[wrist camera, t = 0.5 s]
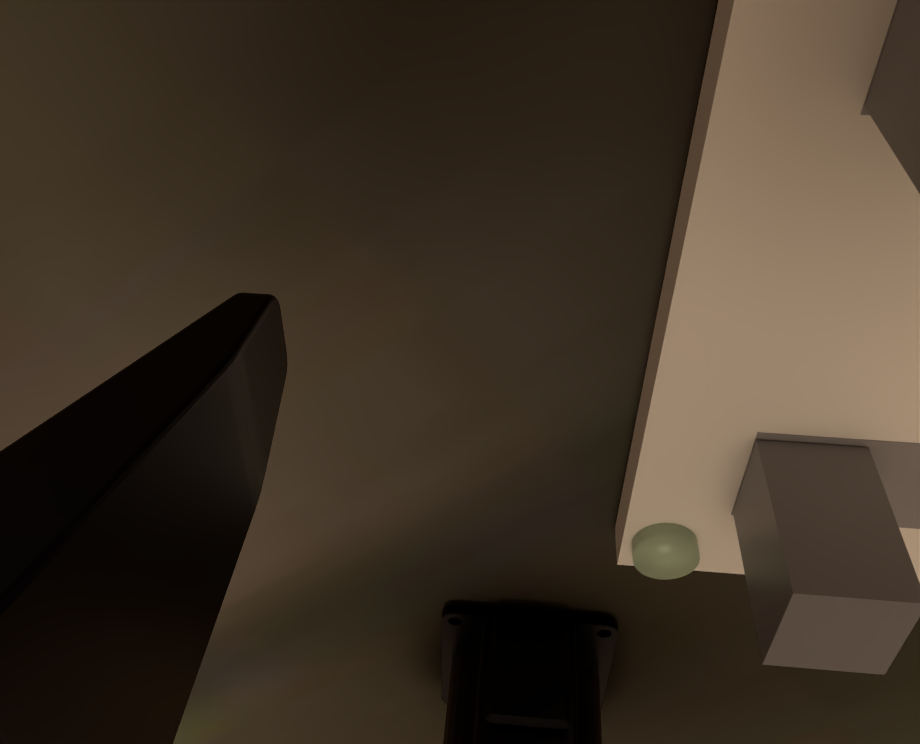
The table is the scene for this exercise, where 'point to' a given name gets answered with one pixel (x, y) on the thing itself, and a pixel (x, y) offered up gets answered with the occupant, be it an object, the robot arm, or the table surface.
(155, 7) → the table surface
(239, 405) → the robot arm
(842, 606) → the block
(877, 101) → the cylinder
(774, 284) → the beige rectangular board
